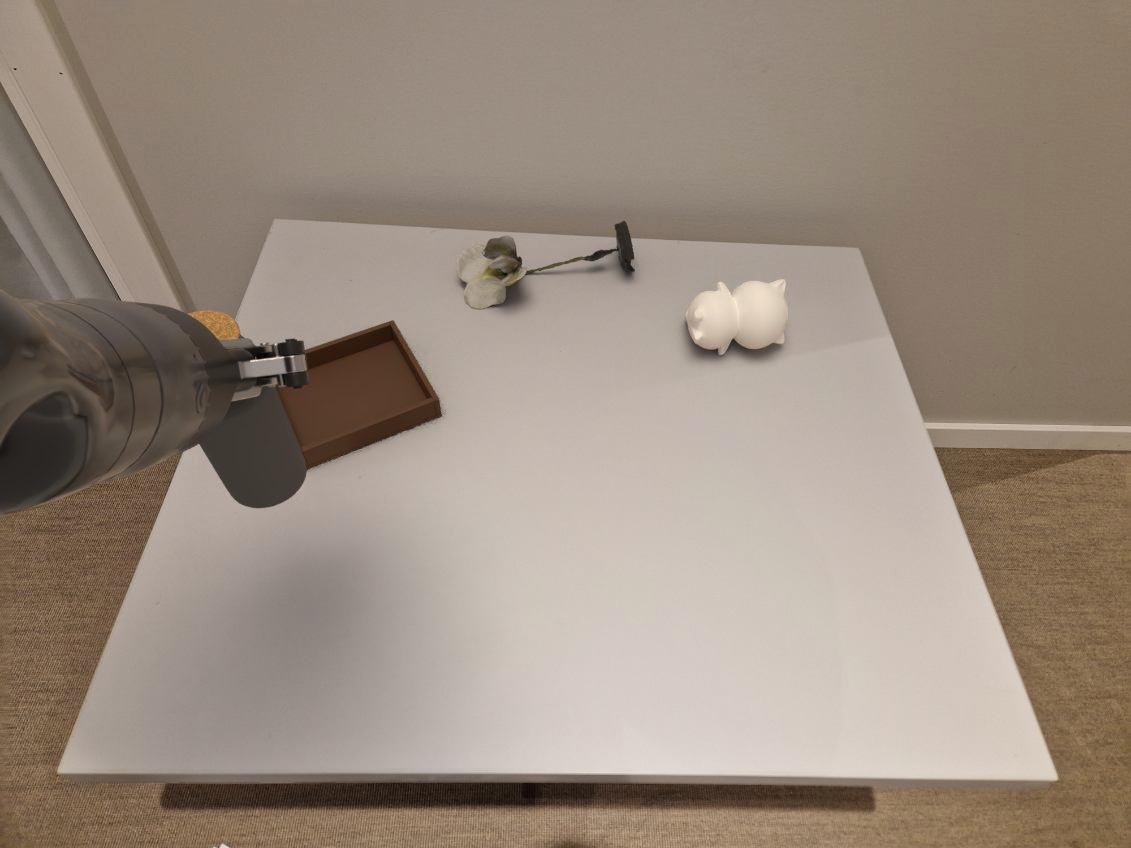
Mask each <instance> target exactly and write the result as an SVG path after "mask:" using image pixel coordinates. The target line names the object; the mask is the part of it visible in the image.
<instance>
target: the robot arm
mask: <svg viewBox="0 0 1131 848" xmlns="http://www.w3.org/2000/svg"><path fill="white" fill-rule="evenodd" d="M188 314H189V313H187V312H185V311H182V310H180V309H177V308H174V307H171V306H168V305H162V304H156V303H147V302H146V303H145V302H136V301H127V300H119V299H118V300H116V299H107V298H97V297H96V298H95V297H70V298H63V299H55V300H47V299H34V298H23V297H22V298H21V297H15V296H12V295H10V294H9V293H7V292H6V291H4V290H3V289H2V288H0V516H5V515H11V514H17V513H22V512H27V511H32V510H35V509H39V508H42V507H45V506H48V505H51V504H53V503H56V502H59V501H61V500H64V499H66V498H69V497H71V496H75V495H76V494H78V493H81V492H83V491H85V490H88V489H89V488H92V487H94V486H96V485H99V484H101V483H106V482H112V481H117V480H120V479H124V478H128V477H130V476H133V475H136V474H138V473H141V472H143V471H145V470H148V469H150V468H152V467H153V466H156V465H159V464H161V463H163V462H165V461H167V460H169V459H171V458H174V457H175V456H178V455H180V454H182V453H184V452H186V451H188V450H192V448H195V447H196V446H198V445H199V444H200V443H201V442H203V441H204V440H205V439H207V438H208V437H209V436H210V435H211V434H212V433H213V432H214V431H215V430H216V429H217V427H218V426H219V425H220V423H221V422H222V420H223V419H224V417H225V415H226V413H227V411H228V409H229V406H230V404H231V402H232V401H237V400H242V399H247V398H252V397H257V396H259V395H260V393H261V389H262V387H264V386H267V388H268V387H276V384H278V387H285V386H286V387H293V389H299V388H303V385H308V384H309V382H310V378H309V373H308V365H307V359H306V353H305V350H306V349H305V341H304V340H298V338H286V339H284V341H283V342H276V343H271V344H270V343H269V342H260V343H259V344H260V345H255V343H254V341H253V340H252V339H251V338H249V337H244V338H242V339H229V340H218V339H217V338H216V336H215V335H214V334H213V333H212V332H211V331H210V330H209V329H208V328H207V327H206V326H205V325H203V324H202V323H201V322H199V321H198V320H197V319H195V318H194V317H192V316H190V315H188Z"/></svg>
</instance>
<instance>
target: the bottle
mask: <svg viewBox="0 0 1131 848" xmlns="http://www.w3.org/2000/svg"><path fill="white" fill-rule="evenodd" d="M187 314H188V315H190V316H192V317H194V318H195V319H197V320H198V321H199V322H201V323H202V324H203V325H205V326H206V327H207V328H208V329H209V330H210V331H211V332H212V333H213V334H214V335H215V336H216V338H217V339H218V340H229V339H242V338H245V337H244V336H243V335H241V329H240V326H239V324H238V322H237V321H236V320H235V318H234V317H232V316H231V315H229V314H227V313H225V312H222V311H218V310H209V309H208V310H207V309H206V310H196V311H192V312H189V313H187ZM198 445H199V446H200V448H201V449H202V451H203V453H204V455H205V457H206V458H207V460H208V461H209V463H210V464H211V466H212V468H213V470H214V472H215V473H216V474H217V476H218V478H219V480H220V481H221V483H222V485H223V486H224V487H225V489H226V491H227V492H228V494H229V495H230V496H231V497H232V498H233V500H234V501H236V503H238V504H240V505H241V506H244V507H246V508H250V509H251V508H252V509H266V508H272V507H276V506H278V505H280V504H283V503H284V502H286V501H288V500H289V499H291V498H292V497H293V496H295V495H296V493H297V492H299V490H300V489H301V487H302V486H303V484H304V483H305V480H306V477H307V471H308V469H307V468H306V462H305V459H304V457H303V454H302V452H301V449H300V447H299V444H298V442H297V439H296V437H295V434H294V432H293V429H292V427H291V425H290V422H289V420H288V417H287V415H286V413H285V410H284V408H283V405H282V403H281V401H280V398H279V396H278V394H277V391H276V389H275V387H268V388H267V386H264V387H262V389H261V393H260V395H259V396H257V397H252V398H247V399H242V400H237V401H232V402H231V404H230V406H229V409H228V411H227V413H226V415H225V417H224V419H223V420H222V422H221V423H220V425H219V426H218V427H217V429H216V430H215V431H214V432H213V433H212V434H211V435H210V436H209V437H208V438H207V439H205V440H204V441H203V442H201V443H200V444H198Z"/></svg>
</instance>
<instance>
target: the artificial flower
mask: <svg viewBox="0 0 1131 848" xmlns="http://www.w3.org/2000/svg"><path fill="white" fill-rule="evenodd" d="M614 229H615V233H616V234H615V240H616V248H610V249H598V250H596V251H593V253H592V254H590V255H586V256H577V257H574V258H573V257H572V258H571V259H569V260H565V261H559V262H558V261H557V262H555V263H551V264H549V265H546V266H541V267H537V268H534V269H530V270H528V268H527V267H522V266H523V259H522V256H520V255H519V256H518V252H517V245H516V241H515V239H514V237H512V236H510V235H503V236H499V237H493V238H488V240H487V241H486V244H485V245H484V244H481V243H476V244H475V245H474V246H473V247H469V248H464V249H462V251H461V253H460V254H459V256H458V257H457V259H456V263H455V264H456V265H455V270H456V271H455V272H456V275H457V277H458V278H459V279H460V280H462V281H463V282H465V283H466V286H465V288H464V291H463V295H464V302H465V303H466V304H467V305H469V306H470V308H472V309H475V310H483V309H487V308H489V307H491V306H493V305H500V304H503V303H504V302H505V300H506V297H507V291H506V290H507V288H506V287H510V286H513V285H514V284H515V283H517V282H519V281H520V279H522V278H523V277H525V276H526V275H528V274H533V273H536V272H543V271H544V270H550V269H554V268H556V267H560V266H563V265H568V264H570V263H577V262H579V261H585V262H595V261H598V260H601V259H603V258H604V257H606V256H608V255H611V254H613V253H614V252H617V256H618V259H619V261H620V264H621V266H622V267H623V268H624V271H628V272H631V273H636V269H635V268H634V267H633V265H632V261H634V260H635V252H634V248H633V247H634V246H633V242H632V237H631V233H630V230H629V227H628V224H627V222H626V221H625V220H623V221H620V222H618V223H615V224H614Z"/></svg>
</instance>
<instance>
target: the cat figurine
mask: <svg viewBox="0 0 1131 848" xmlns="http://www.w3.org/2000/svg"><path fill="white" fill-rule="evenodd" d="M786 284H787V281H786V279H784V278H782V279H777V280H773V281H771V282H765V281H761V280H749V281H745V282H743V283H740V284H739V285H738V286H737V287H736V288H735V289H734V290H733V291H732V292H731V291H730V290H729V288H728V287H727V286H726V284H725V283H724V282H722V281H718V282H717V283H716V290H704V291H702V292H700V293H699V294H697V295H696V296H695V297H694V298H693V300H692V301H691V303H690V304H689V306H688V309H687V311H686V312H685V315H684V319H685V321H686V322H687V329H688V330H687V331H688V333H689V335H690V338H691V340H693V342H694V344H695V345H697V346H699V347H701V348H702V349H705V350H717V354H718V355H719V356H723V355H724V354H725V353H726V352H727V350H728V348H729V347H730V344H731V342H732V341H733V340H734V341H735V342H736V343H737V344H739V345H740V346H742V347H743V348H745V349H750V350H759V349H762V348H765V347H768V346H769V345H772V344H778V345H781V344H784V343H785V339H786V338H785V333H784V331H785V328H786V326H787V324H788V320H789V306H788V303H787V301H786V298H785V291H786Z"/></svg>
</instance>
